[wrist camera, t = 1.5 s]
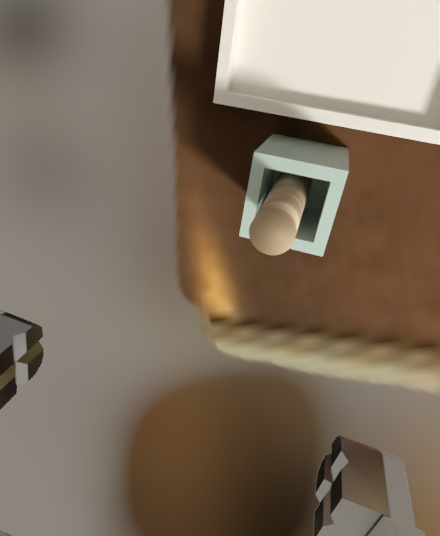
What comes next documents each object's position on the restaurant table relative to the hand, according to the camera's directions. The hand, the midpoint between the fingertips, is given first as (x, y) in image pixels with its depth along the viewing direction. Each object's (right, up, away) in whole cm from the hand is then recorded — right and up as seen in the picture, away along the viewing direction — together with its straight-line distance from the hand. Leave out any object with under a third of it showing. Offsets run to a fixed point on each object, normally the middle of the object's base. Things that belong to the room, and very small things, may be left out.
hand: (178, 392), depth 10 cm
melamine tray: (+12, +22, +21) cm, 33 cm away
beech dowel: (+8, +12, +27) cm, 30 cm away
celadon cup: (+9, +12, +27) cm, 31 cm away
